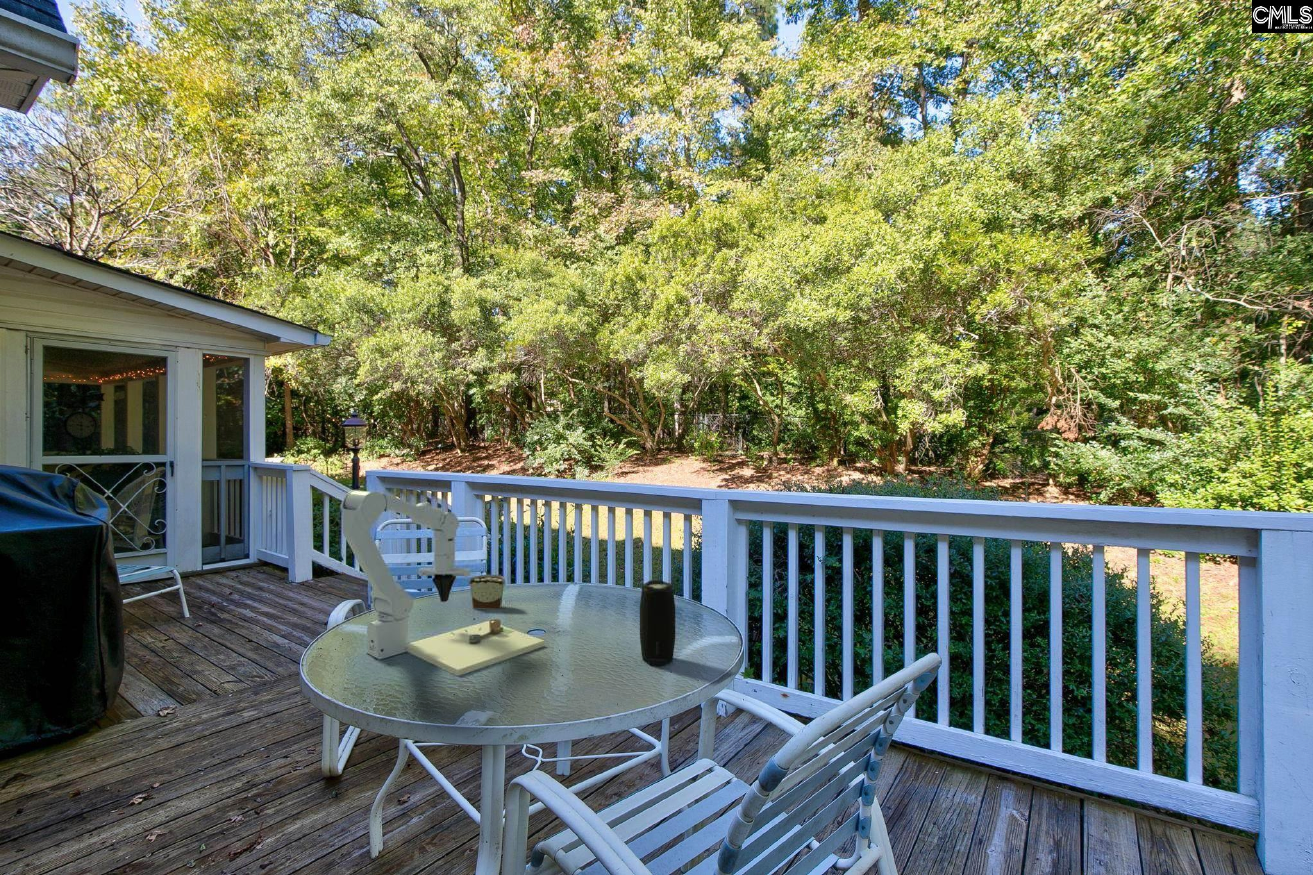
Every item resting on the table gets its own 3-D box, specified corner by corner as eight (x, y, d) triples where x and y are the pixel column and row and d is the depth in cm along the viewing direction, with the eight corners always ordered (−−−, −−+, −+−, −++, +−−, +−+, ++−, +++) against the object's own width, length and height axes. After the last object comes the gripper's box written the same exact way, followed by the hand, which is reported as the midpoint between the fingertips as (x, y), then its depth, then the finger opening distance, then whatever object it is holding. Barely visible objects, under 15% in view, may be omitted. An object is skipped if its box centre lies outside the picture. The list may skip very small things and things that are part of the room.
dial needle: (475, 644, 157) (475, 632, 157) (466, 642, 158) (466, 630, 158) (506, 629, 168) (506, 618, 168) (497, 628, 169) (497, 617, 169)
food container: (511, 604, 200) (511, 574, 200) (504, 609, 194) (504, 579, 194) (475, 603, 201) (475, 573, 201) (468, 608, 195) (468, 578, 195)
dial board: (457, 676, 140) (457, 669, 140) (404, 650, 157) (404, 644, 157) (544, 646, 160) (544, 640, 160) (488, 625, 177) (488, 620, 177)
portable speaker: (647, 652, 156) (647, 577, 156) (680, 657, 152) (681, 581, 152) (633, 663, 148) (633, 585, 148) (668, 669, 144) (668, 589, 144)
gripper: (474, 551, 174) (474, 597, 174) (426, 550, 175) (427, 596, 175) (464, 556, 167) (464, 604, 167) (415, 555, 168) (415, 603, 168)
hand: (444, 600), depth 170 cm, fingers closed
